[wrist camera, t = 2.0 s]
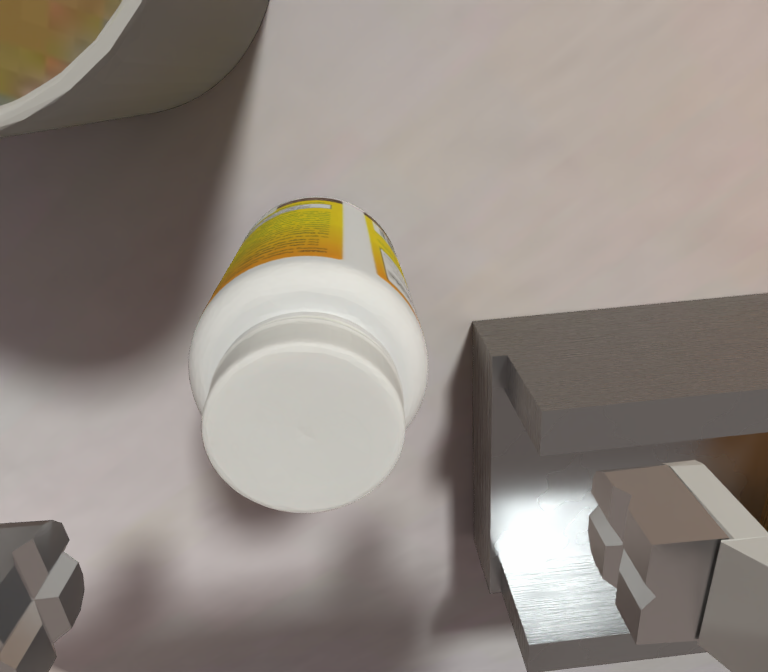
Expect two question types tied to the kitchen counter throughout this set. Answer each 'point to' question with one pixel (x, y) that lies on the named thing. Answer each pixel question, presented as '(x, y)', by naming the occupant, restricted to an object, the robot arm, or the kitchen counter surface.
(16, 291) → the kitchen counter surface
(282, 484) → the supplement bottle
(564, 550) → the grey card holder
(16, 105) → the coffee mug
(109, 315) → the kitchen counter surface
